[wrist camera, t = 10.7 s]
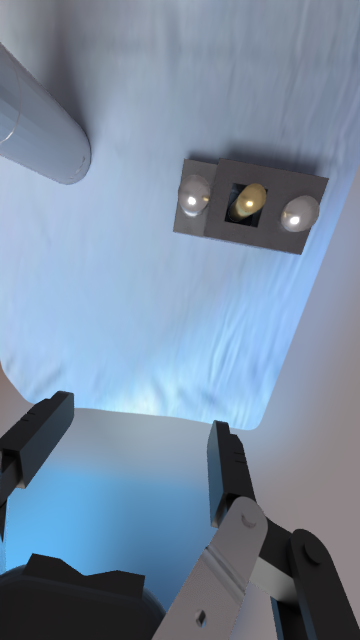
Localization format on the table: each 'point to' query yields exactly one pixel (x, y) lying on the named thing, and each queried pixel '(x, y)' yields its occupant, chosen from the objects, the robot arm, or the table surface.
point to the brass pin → (247, 202)
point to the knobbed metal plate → (267, 223)
